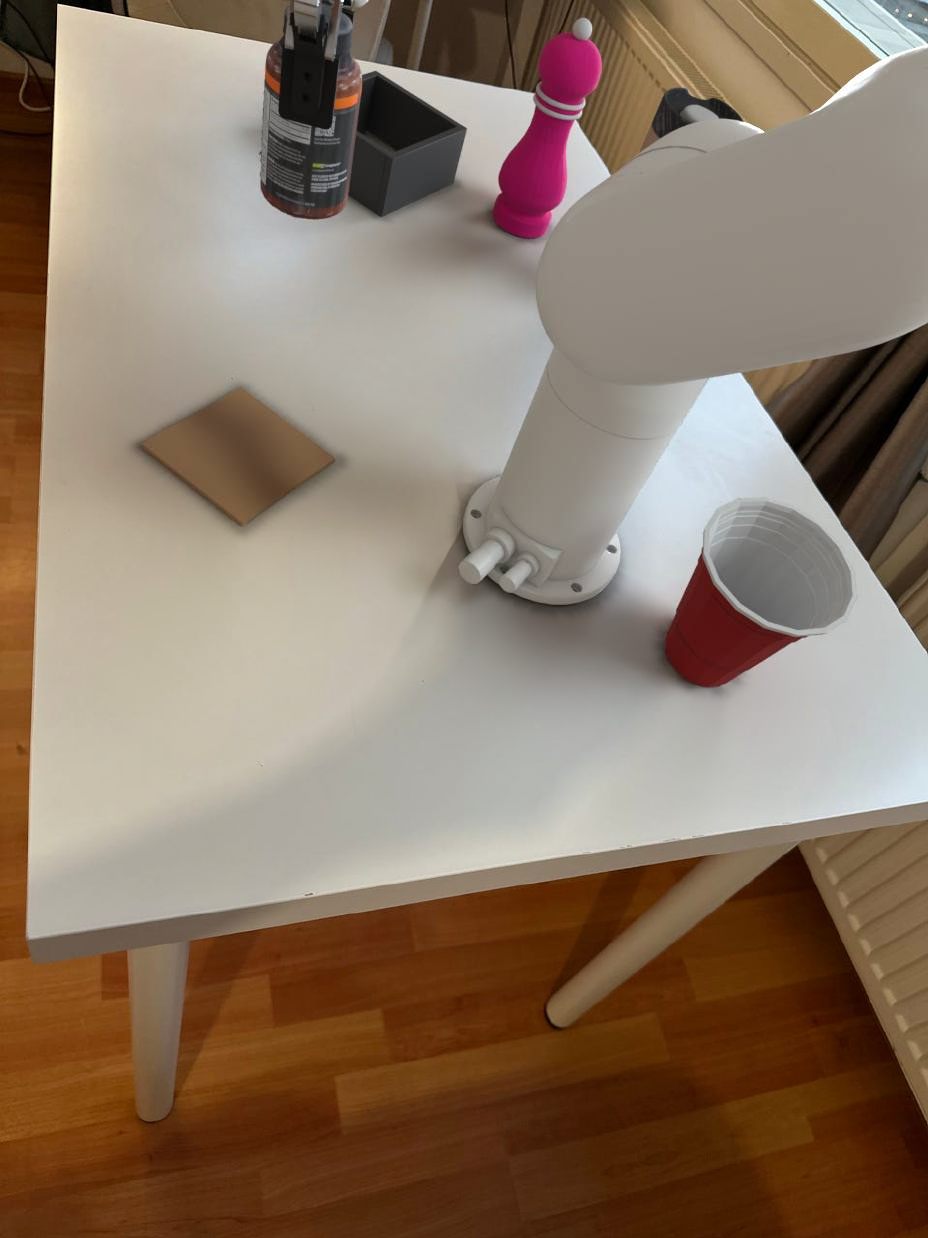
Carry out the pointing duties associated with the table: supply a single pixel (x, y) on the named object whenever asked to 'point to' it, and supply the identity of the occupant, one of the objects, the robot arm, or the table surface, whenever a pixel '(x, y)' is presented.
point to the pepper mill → (547, 134)
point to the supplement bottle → (310, 139)
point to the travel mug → (684, 113)
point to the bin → (401, 147)
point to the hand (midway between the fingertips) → (314, 94)
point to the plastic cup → (757, 590)
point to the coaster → (239, 455)
